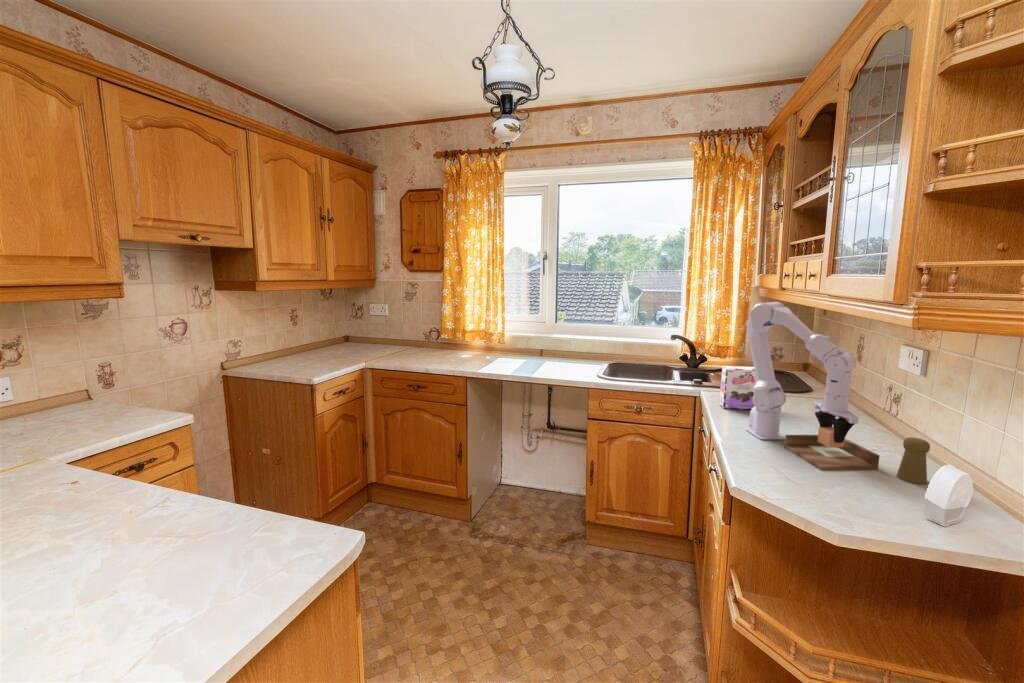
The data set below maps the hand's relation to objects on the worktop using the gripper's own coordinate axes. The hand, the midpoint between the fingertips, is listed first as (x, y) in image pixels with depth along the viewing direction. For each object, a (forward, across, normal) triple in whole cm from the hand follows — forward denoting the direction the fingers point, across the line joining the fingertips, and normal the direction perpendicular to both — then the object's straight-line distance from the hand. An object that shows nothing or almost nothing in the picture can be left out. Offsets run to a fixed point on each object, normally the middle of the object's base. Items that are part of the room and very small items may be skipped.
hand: (832, 439), depth 133 cm
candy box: (+5, -47, -1) cm, 47 cm away
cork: (+5, +16, +9) cm, 20 cm away
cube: (+2, 0, 0) cm, 2 cm away
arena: (+5, +2, -2) cm, 6 cm away
